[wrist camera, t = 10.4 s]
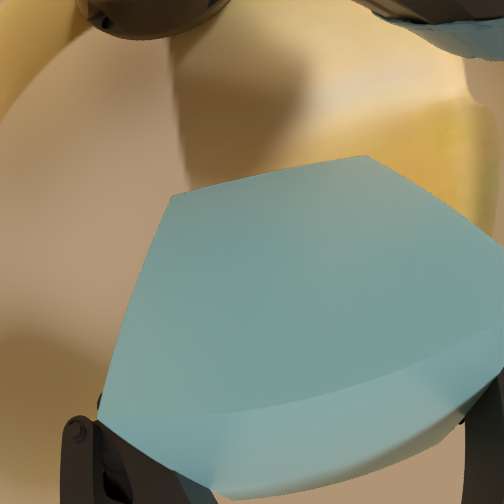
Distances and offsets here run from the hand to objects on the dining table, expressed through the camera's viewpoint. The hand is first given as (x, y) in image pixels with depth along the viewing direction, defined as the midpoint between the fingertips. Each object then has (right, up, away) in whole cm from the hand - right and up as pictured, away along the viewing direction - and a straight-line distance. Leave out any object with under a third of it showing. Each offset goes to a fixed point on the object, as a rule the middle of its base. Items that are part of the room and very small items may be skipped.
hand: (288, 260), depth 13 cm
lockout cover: (0, 0, 0) cm, 0 cm away
